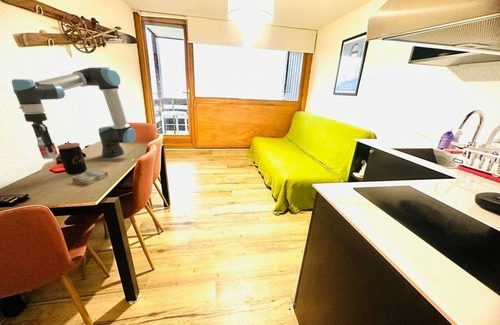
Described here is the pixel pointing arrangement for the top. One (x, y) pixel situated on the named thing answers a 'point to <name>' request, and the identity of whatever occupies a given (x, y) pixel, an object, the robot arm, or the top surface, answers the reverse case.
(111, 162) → the top surface
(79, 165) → the coffee jar
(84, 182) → the banknote stack
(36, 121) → the robot arm
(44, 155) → the pill bottle
